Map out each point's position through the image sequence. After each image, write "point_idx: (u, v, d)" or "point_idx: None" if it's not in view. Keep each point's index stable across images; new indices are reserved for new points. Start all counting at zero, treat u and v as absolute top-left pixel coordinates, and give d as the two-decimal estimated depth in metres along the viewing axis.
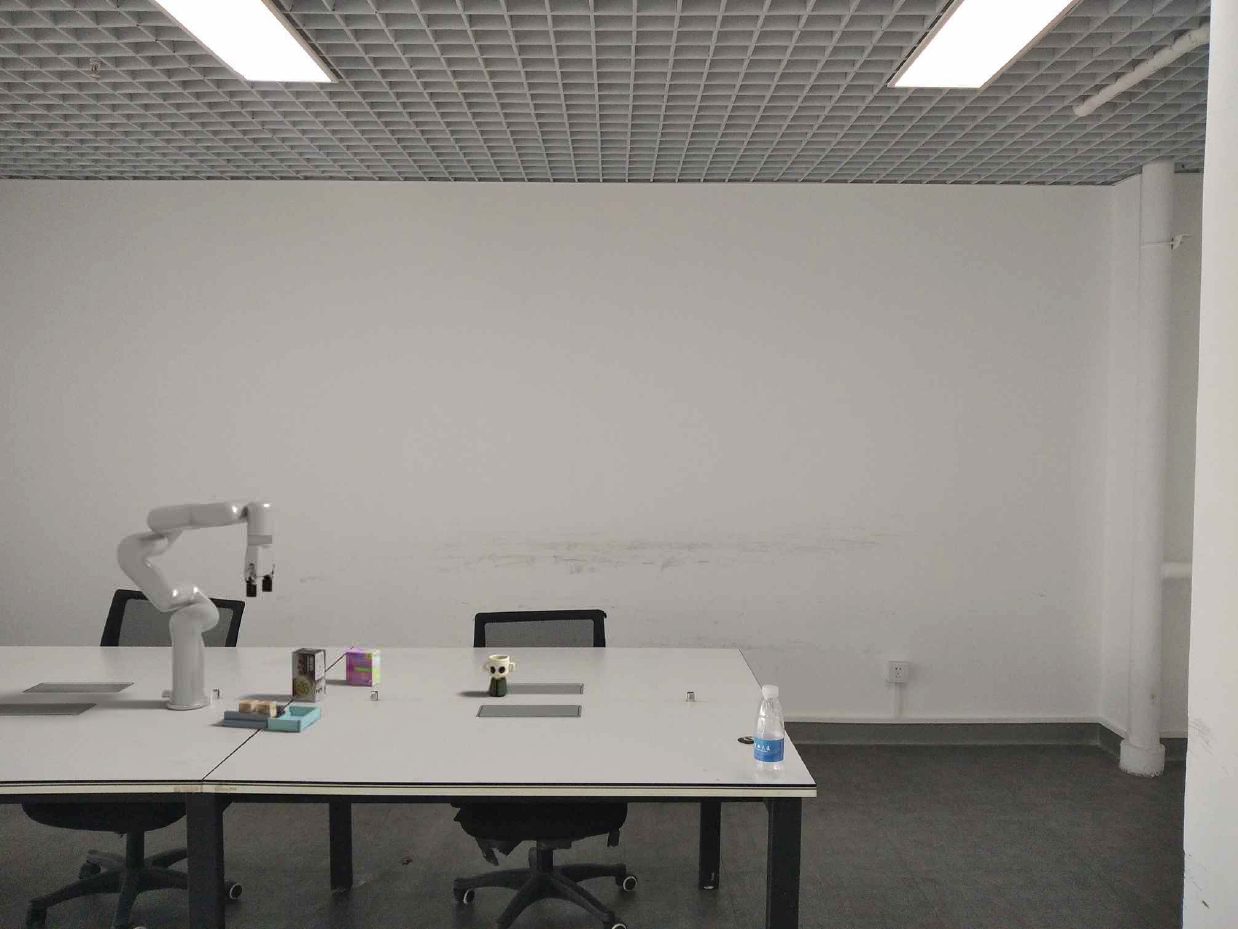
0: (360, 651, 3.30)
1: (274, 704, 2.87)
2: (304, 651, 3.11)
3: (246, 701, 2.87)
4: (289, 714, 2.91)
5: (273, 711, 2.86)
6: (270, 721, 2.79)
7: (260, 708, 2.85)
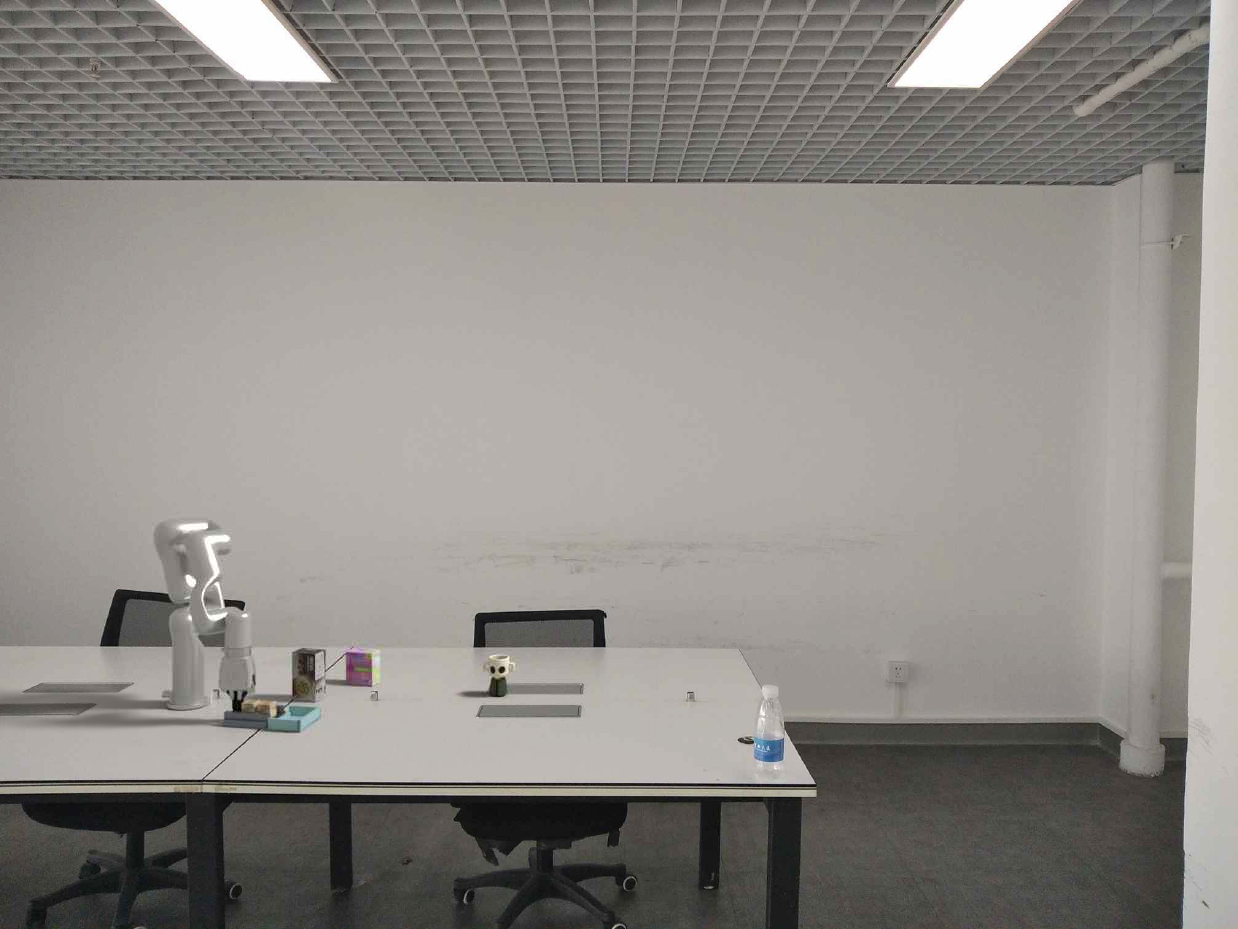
0: (360, 651, 3.30)
1: (274, 704, 2.87)
2: (304, 651, 3.11)
3: (249, 701, 2.87)
4: (289, 714, 2.91)
5: (273, 711, 2.86)
6: (270, 721, 2.79)
7: (260, 708, 2.85)
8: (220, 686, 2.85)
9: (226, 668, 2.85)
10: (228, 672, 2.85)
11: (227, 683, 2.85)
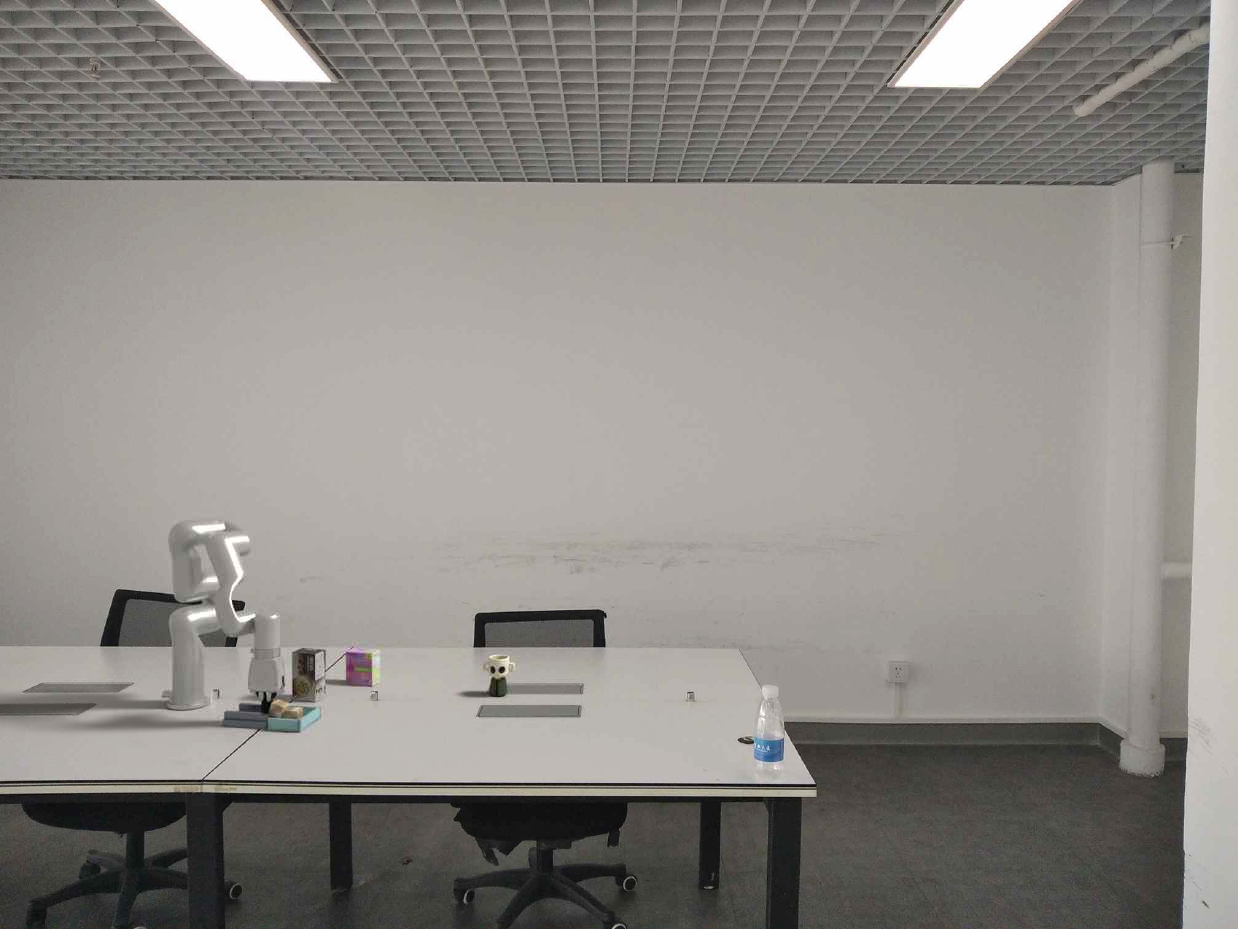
0: (360, 651, 3.30)
1: None
2: (304, 651, 3.11)
3: (279, 702, 2.86)
4: None
5: None
6: (270, 721, 2.79)
7: (292, 714, 2.83)
8: (249, 687, 2.84)
9: (255, 669, 2.83)
10: (257, 674, 2.83)
11: (256, 684, 2.84)
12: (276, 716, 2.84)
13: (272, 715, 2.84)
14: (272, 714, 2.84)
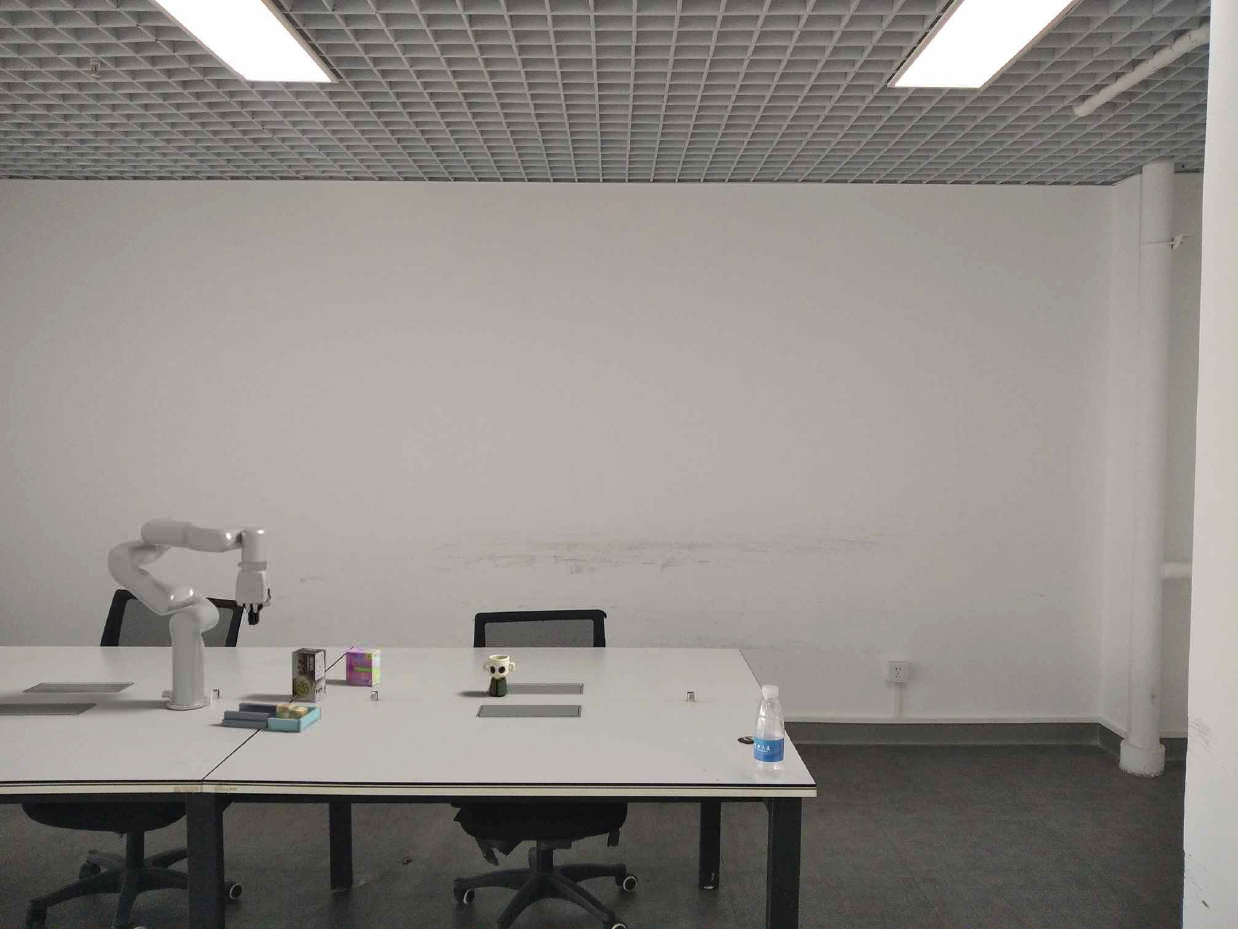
0: (360, 651, 3.30)
1: None
2: (304, 651, 3.11)
3: (284, 704, 2.86)
4: None
5: None
6: (270, 721, 2.79)
7: (297, 713, 2.83)
8: (237, 599, 2.96)
9: (242, 582, 2.96)
10: (244, 586, 2.96)
11: (243, 596, 2.96)
12: (284, 718, 2.84)
13: (279, 718, 2.84)
14: (280, 717, 2.84)
